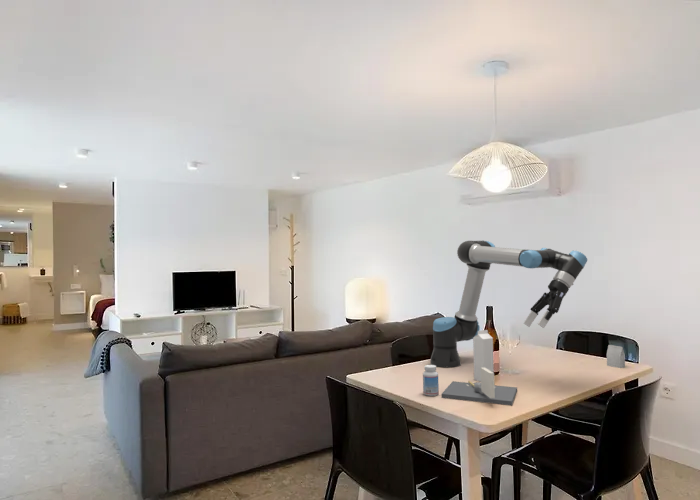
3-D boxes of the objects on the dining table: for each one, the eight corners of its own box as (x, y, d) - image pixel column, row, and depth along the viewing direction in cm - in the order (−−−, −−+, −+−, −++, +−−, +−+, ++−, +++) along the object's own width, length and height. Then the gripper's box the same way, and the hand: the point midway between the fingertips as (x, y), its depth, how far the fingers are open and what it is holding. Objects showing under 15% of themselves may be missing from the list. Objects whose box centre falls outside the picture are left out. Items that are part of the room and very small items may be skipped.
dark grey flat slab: (441, 397, 181) (441, 393, 181) (452, 384, 199) (452, 380, 199) (511, 405, 170) (511, 400, 170) (517, 391, 188) (517, 386, 188)
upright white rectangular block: (464, 383, 194) (464, 358, 194) (473, 383, 194) (472, 358, 194) (487, 401, 169) (487, 373, 169) (497, 401, 169) (496, 373, 169)
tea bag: (620, 368, 223) (620, 347, 224) (606, 365, 229) (606, 345, 229) (625, 367, 225) (624, 346, 225) (611, 364, 231) (610, 344, 231)
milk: (493, 381, 204) (493, 330, 204) (483, 383, 201) (483, 331, 201) (483, 378, 209) (482, 328, 210) (473, 379, 206) (472, 330, 207)
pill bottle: (441, 394, 185) (441, 366, 185) (430, 397, 181) (429, 368, 182) (431, 391, 190) (430, 363, 190) (420, 393, 186) (419, 365, 187)
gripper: (584, 287, 182) (555, 332, 179) (553, 290, 206) (528, 329, 203) (568, 276, 182) (539, 320, 179) (540, 280, 207) (513, 319, 204)
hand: (533, 325), depth 191 cm, fingers open, 13 cm apart
